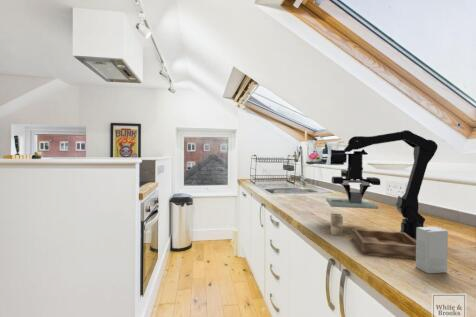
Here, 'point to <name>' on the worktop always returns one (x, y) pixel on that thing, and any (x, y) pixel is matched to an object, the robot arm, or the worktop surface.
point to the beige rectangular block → (337, 224)
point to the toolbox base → (385, 243)
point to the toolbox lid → (352, 202)
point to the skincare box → (431, 249)
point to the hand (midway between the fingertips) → (354, 200)
